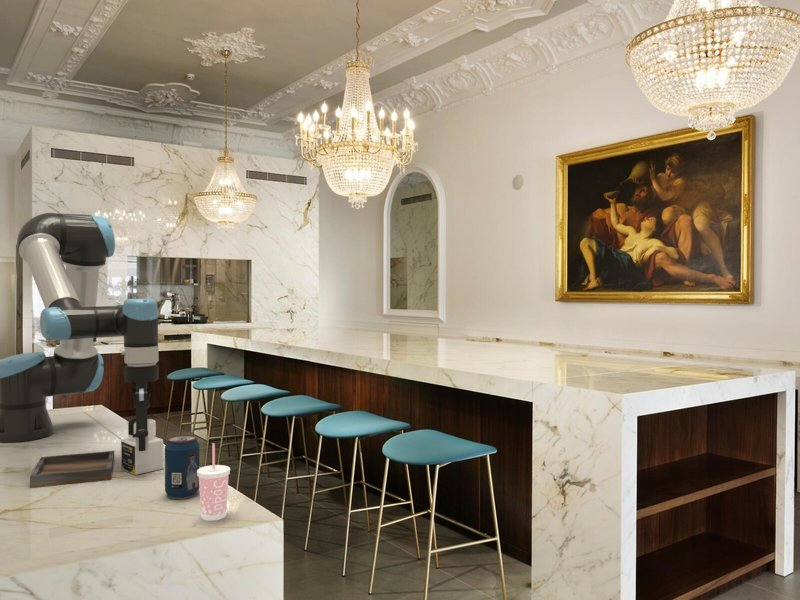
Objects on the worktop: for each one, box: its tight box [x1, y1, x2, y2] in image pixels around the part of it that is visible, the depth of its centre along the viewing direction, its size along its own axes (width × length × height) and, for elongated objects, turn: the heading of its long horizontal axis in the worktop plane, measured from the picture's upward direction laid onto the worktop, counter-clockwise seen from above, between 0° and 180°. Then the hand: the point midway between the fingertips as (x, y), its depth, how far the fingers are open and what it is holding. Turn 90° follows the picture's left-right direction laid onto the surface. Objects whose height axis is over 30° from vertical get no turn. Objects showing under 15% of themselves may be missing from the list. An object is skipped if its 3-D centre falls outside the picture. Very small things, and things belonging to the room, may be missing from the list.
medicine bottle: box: [120, 417, 165, 476], centre depth 153 cm, size 7×7×12 cm
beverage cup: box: [197, 442, 231, 521], centre depth 124 cm, size 6×6×14 cm
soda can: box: [164, 434, 201, 500], centre depth 136 cm, size 7×7×12 cm
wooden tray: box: [29, 450, 116, 489], centre depth 150 cm, size 16×16×2 cm
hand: (142, 458), depth 154 cm, fingers closed on medicine bottle, 9 cm apart
